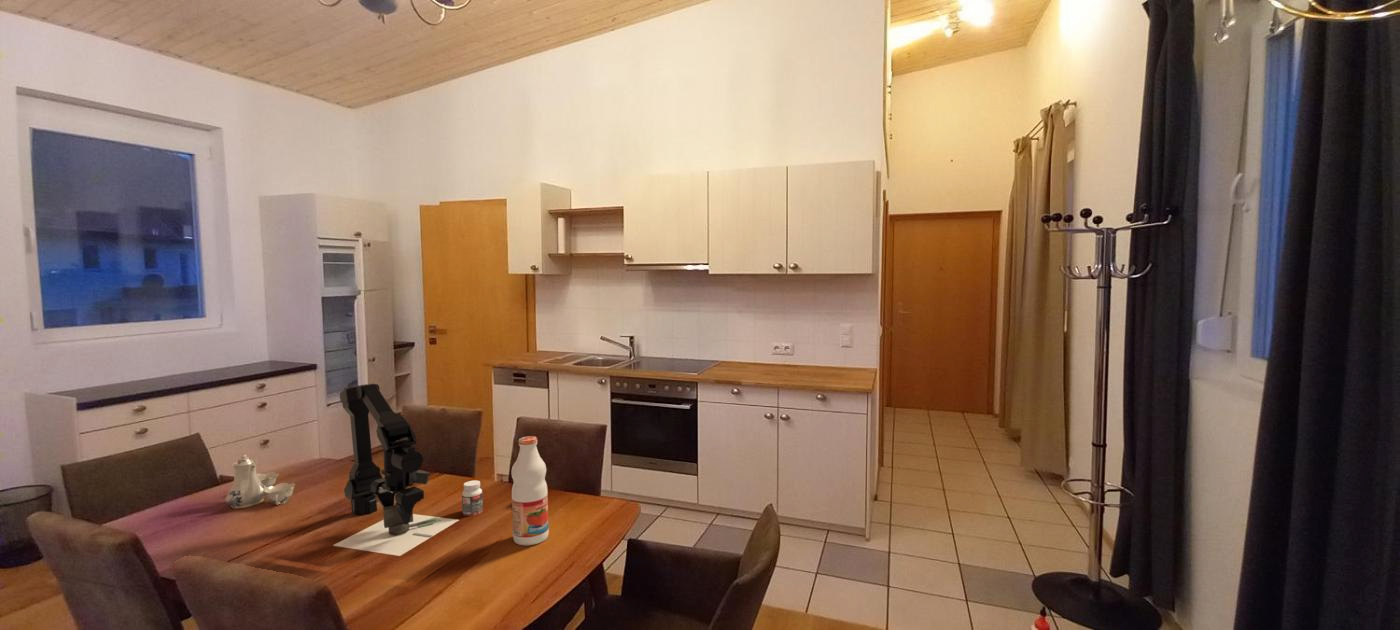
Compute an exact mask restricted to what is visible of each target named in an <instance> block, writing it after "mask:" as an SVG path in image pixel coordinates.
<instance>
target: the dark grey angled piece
mask: <svg viewBox="0 0 1400 630" xmlns="http://www.w3.org/2000/svg"><path fill="white" fill-rule="evenodd" d="M413 511H414V510H413ZM413 511H412V514H411V518H410V521H409V523H410V522H413V514H414V512H413ZM382 514H383V520H384V527H385V528H388V527H389V534H390V535H399V534H403V533H405V532H407V531H408V530H409V528H410V527H415V526H419V525H423V524H427V523H431V522H436V518H435V519H431V520H427V521H422V522H418V523H414V524H409V523H408V524H406V525H405V524H404V523H403V521H402V518H401V516H400V514H399V511H398V509H397V507H396V505H395V504H394V505H393V506H388V507H382Z"/></svg>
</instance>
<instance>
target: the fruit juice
mask: <svg viewBox="0 0 1400 630" xmlns="http://www.w3.org/2000/svg"><path fill="white" fill-rule="evenodd" d="M537 445H538V437H536V436H534V435H532V436H531V435H530V436H529V435H528V436H523V437H520V438H519V439H518V446H519V450H518V451H519V452H518V456H517V458H516V461H515V462H514V463H513V465H512V468H511V478H512V480H513V484H512V487H511V514H512V515H511V518H512V519H511V520H512V539H513V541H514V543H515V544H517V545H519V546H534V545H538V544H541V543H543V542H544V541H546V540H547V539H548V537H549V531H550V529H549V500H548V494H549V493H548V491H549V490H548V484H547V481H546V475H547V466H546V463H545V461H544V460H543V458H542V457H541V455H540V453H539V451H538V447H537Z"/></svg>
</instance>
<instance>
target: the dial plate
mask: <svg viewBox="0 0 1400 630" xmlns="http://www.w3.org/2000/svg"><path fill="white" fill-rule="evenodd" d="M435 518H436V522H431V523H427V524H423V525H419V526H415V527H410V528H409V530H408V531H407V532H405V533H403V534H399V535H390V534H389V527H388V528H385V527H384V519H382V520H380V521H378V522H376V523H375V524H372V525H371V526H367V527H366V528H364V529H362V530H360V531H358V532H357V533H354V534H353V535H350V536H349V537H346V538H345V539H342V540H341V541H338V542H337V543H335V544H333V547H338V548H346V549H353V550H360V551H365V552H373V553H379V554H384V555H391V556H395V557H396V556H397V557H400V556H403V555H405V554H406V553H408V552H409V551H410V550H413V549H414V548H415V547H418V545H421V544H422V543H424V542H426V541H427V540H429V539H430V538H433V537H434V536H435V535H437V534H439V533H441V532H443V531H444V530H445V529H447V528H448V527H451V526H452V525H454V524H455V523H457V522H459V521H460V520H459V519H455V518H445V517H439V516H432V515H423V514H416V513H413V522H410V523H409V524H414V523H418V522H422V521H427V520H431V519H435Z"/></svg>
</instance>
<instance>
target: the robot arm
mask: <svg viewBox="0 0 1400 630" xmlns="http://www.w3.org/2000/svg"><path fill="white" fill-rule="evenodd" d="M339 399H340V403H342V408H343V410H344V411H345V412H346V413H347V414H348V415H349V418H350V420H349V421H350V428H351V441H352V442H351V443H352V450H353V452H352V453H353V461H354V462H353V465H352V466H351V469H350V471H349V472H348V480H347V483H346V485H345V487H344V488H343V492H344V496H345V498H346V499H348V500H350V505H351V513H352V514H353V515H355V516H362V515H371V514H373V513H375V512H377V511H378V503H380V505H381V506H382V508H383V507H388V506H393V505H396V507H397V509H398V511H399V514H400V516H401V518H402V521H403V523H404V524H405V525H406V524H408V523H409V521H410V518H411V514H412V511H414V508H415V506H416V504H417V503H419V502H421V501H422V500H424V498H425V491H424V490H423V489H421V488H420V487H417V486H414V484H421V485H422V484H423V485H427V484H428V480H429V478H430V472H428V471H425V470H421V469H420V468H421V467H422V465H423V463H424V458H423V455H422V454H421V453H420V452H419V451H417V450H416V446H414V445H416V444H417V440H416V439H417V435H416V434H415V432H414V429H413V428H412V426H411V424H410V423H409V421H408V420H407V418H405V417H404V416H403V415H402V414H400V413H397V412H395V411H394V410H393V409H392V407H391V406H390V404H389V403H388V401H387V399H386V398H385V397H384V395H383V393H382V392H381V389H380V386H379V384H377V383H367V384H361V385H353V386H346V387H343V390H342V391H340V393H339ZM369 414H371V415H372V417H373V419H374V420H375V422H376V424H377V426H376V432H375V433H376V436H377V439H378V441H379V443H380V445H381V446H380V448H382V451H383V452H382V453H383V454H382V455H383V469H381V467H380V466H378V465H377V464H375V462H374V461H373V453H372V441H371V440H372V439H371V429H370V421H369V420H370V419H369ZM382 475H384V477H383V476H382ZM377 502H378V503H377ZM395 502H396V503H395Z"/></svg>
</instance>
